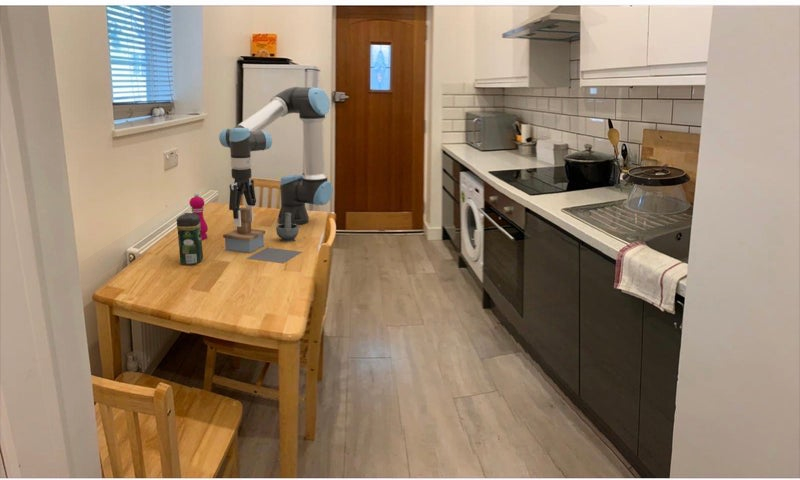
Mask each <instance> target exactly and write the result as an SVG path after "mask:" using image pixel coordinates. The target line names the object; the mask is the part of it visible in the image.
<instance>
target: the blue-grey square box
mask: <svg viewBox="0 0 800 480" xmlns="http://www.w3.org/2000/svg"><path fill="white" fill-rule="evenodd" d="M264 237H265V234H263V235H261V236H259V237H257V238H255V239H253V240H251V241H246V240H238V239H229V238H224V240H225V241H224V243H225V244H224V245H225V251H230V252H237V253H246V254H251V253H253V252H254V251H255V252H256V251H257V250H259V249H261V248H263V247H264V246H265V238H264Z"/></svg>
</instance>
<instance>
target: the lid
mask: <svg viewBox="0 0 800 480" xmlns="http://www.w3.org/2000/svg"><path fill="white" fill-rule="evenodd" d="M239 210H240V214H241V227H237V226H236V229H234V230H231V231H229V232H227V233H223V234H222V238H223V239H225V238H229V239H238V240H246V241H251V240H253V239H255V238H257V237H259V236H261V235H263V234H264V235H265V234H266V231H265V230H261V229H253V228H252V222H251V212H250V208H246V207H242V206H241V207H239Z"/></svg>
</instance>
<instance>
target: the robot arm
mask: <svg viewBox="0 0 800 480" xmlns="http://www.w3.org/2000/svg"><path fill="white" fill-rule="evenodd" d="M330 108H331V101H330V97H329V95H328V93H327V92H326V91H325V90H324V89H322V88H320V87H300V86H293V87H289V88H286V89H284V90H283V91H280V92H278V93H277V94H276V95H274V96H272V98H270V100H269V103H267V104H266V105H264V106H263V107H261V108H260V109H258V110H257V111H256V112H254V113H253V114H251V115H250V116H249V117H247V118H246V119H244V120H242V121H241V122H240V123H238V124H237V125H235V126H234V127H232V128H225V129H222V130H221V131H220V132H219V135H218V140H219V143H220V145H222V146H223V147H225V148H228V149H230V151H229V152H230V167H231V178H232V179H234V182H233V184H229V204H228V206H229V207H228V209H229V210H230V211H232V216H233V226H234V227H236V228H237V227H241V214H240V210H239V208H241V207H240V206H241V202H242V195H243V196H244V198H245V202H246V204H247V205H246V206H245V208H250V212H251V223H253V222H254V206H256V203H257V198H256V197H257V196H256V191H255V185H254V182H255V181H254V179H251V178H252V168H251V167H252V163H251V162H252V160H251V157H252V156H251V155H252V153H251V152H257V151H258V152H259V151H266V150H269V149H270V148H272V145H273V138H272V135H271V134H270V133H269V132H268V131H263V130H265V129H266V128H267V127H268V126H270V125H271V124H272V123H274V122H275V121H277V119H279V118H280V117H281V118H283V117H285V116H286V115H290V114H298V115H299V120H300V121H302V126H303V128H302V129H303V144H304V145H303V148H304V167H305V173H304V174H292V175H285V176H282V177H281V178H280V185H279V186H280V189H279V190H280V210H279V213H278V216H277V222H278V224H279V225H280V224H285V217H286V216H285V213H291V224H296V225H299V226H301V225H305V224H308V223H309V222H310V217H309V214H308V211H307V208H306V204H307V205H308V204H311V205H314V206H325V205H327V204H328V203H329V202H330V201H331V199H332V196H333V193H334V186H333V184H332V182H330V181H329V180H328V175H327V174H326V173H325V167H324V165H325V163H324V142H323V141H324V138H323V137H324V136H323V121H324V120H325V119H326V115H327V114H328V113H329V111H330Z"/></svg>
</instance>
